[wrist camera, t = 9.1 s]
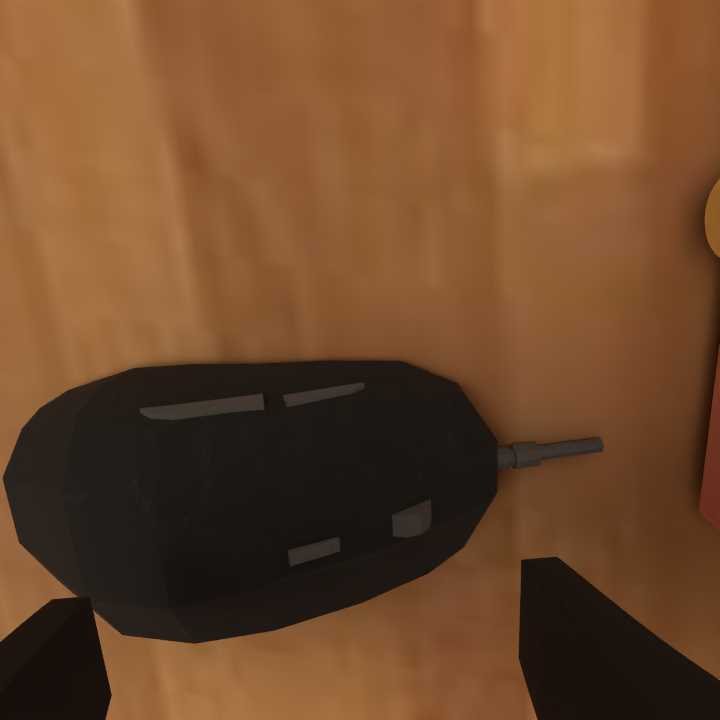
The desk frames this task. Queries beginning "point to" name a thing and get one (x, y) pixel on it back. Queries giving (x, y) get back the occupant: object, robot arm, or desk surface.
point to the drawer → (716, 487)
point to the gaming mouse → (253, 490)
